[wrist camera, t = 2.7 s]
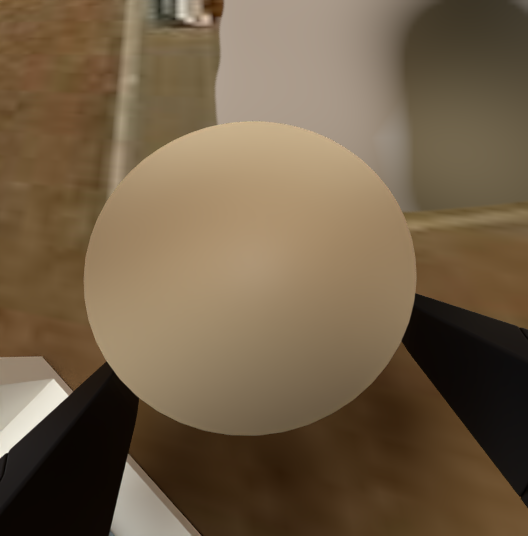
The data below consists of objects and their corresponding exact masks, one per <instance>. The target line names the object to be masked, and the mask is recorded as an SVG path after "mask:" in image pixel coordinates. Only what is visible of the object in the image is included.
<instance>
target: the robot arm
mask: <svg viewBox="0 0 528 536" xmlns="http://www.w3.org/2000/svg"><path fill="white" fill-rule="evenodd" d="M401 341H402V343H403V344H404V346H405V347H406V349H407V350H408V352H409V353H410V354H411V356H412V357H413V358H414V360H415V361H416V362H417V364H418V365H419V366H420V368H421V369H422V370H423V371H424V373H425V374H426V375H427V377H428V378H429V379H430V381H431V382H432V383H433V385H434V386H435V387H436V388H437V390H438V391H439V392H440V394H441V395H442V396H443V398H444V399H445V400H446V401H447V403H448V404H449V405H450V407H451V408H452V409H453V411H454V412H455V413H456V415H457V416H458V417H459V418H460V420H461V421H462V422H463V424H464V425H465V426H466V428H467V429H468V430H469V431H470V433H471V434H472V435H473V437H474V438H475V439H476V441H477V442H478V443H479V445H480V446H481V447H482V448H483V450H484V451H485V452H486V454H487V455H488V456H489V458H490V459H491V460H492V461H493V463H494V464H495V465H496V467H497V468H498V469H499V471H500V472H501V473H502V475H503V476H504V477H505V478H506V480H507V481H508V482H509V484H510V485H511V486H512V488H513V489H514V490H515V492H516V493H517V494H518V495H519V496H520V497H521V500H522V501H523V502H524V504H525V505H526V506H527V508H528V329H524V328H519V327H518V326H515V325H512V324H509V323H506V322H503V321H500V320H496V319H493V318H490V317H487V316H484V315H481V314H478V313H475V312H472V311H469V310H466V309H462V308H459V307H456V306H453V305H450V304H447V303H444V302H441V301H438V300H435V299H432V298H428V297H425V296H422V295H419V294H416V293H415V299H414V304H413V308H412V312H411V316H410V320H409V324H408V326H407V328H406V331H405V333H404V336H403V338H402V340H401ZM138 403H139V397H137V396H136V395H135V394H134V393H133V392H132V391H131V390H130V389H129V388H128V387H127V386H126V385H125V384H124V383H123V382H122V381H121V380H120V379H119V377H118V376H117V375H116V373H115V372H114V370H113V369H112V368H111V366H110V365H109V364H108V362H105V363H104V364H103V365H102V366H101V367H100V368H99V369H98V370H97V371H96V372H94V373H93V374H92V375H91V376H90V377H89V378H88V379H87V380H86V381H85V382H83V383H82V384H81V385H80V386H79V387H78V388H77V389H76V390H75V391H74V392H72V393H71V394H70V395H69V396H68V397H67V398H66V399H65V400H64V401H63V402H61V403H60V404H59V405H58V406H57V407H56V408H55V409H54V410H53V411H52V412H51V413H49V414H48V415H47V416H46V417H45V418H44V419H43V420H42V421H41V422H40V423H38V424H37V425H36V426H35V427H34V428H33V429H32V430H31V431H30V432H29V433H27V434H26V435H25V436H24V437H23V438H22V439H21V440H20V441H19V442H18V443H16V444H15V445H14V446H13V447H12V448H11V449H10V450H9V452H8V453H6V454H4V455H3V456H2V457H1V458H0V536H109V533H110V529H111V524H112V520H113V516H114V512H115V507H116V503H117V499H118V495H119V490H120V486H121V482H122V477H123V473H124V469H125V465H126V460H127V456H128V452H129V448H130V443H131V439H132V435H133V431H134V426H135V422H136V417H137V411H138Z"/></svg>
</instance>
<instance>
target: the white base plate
mask: <svg viewBox="0 0 528 536" xmlns="http://www.w3.org/2000/svg"><path fill="white" fill-rule="evenodd" d="M72 392H73V391H72V390H71V389H70V387H69V386H68V385H67V384H66V383H65V382H64V381H63V380H62V379H61V377H60V376H59V375H58V374H57V373H56V372H55V371H54V370H53V368H52V367H51V366H50V365H49V364H48V363H47V362H46V361H45V359H44V358H43V357H0V458H1V457H2V456H3V455H4V454H6V453H8V452H9V450H10V449H11V448H12V447H13V446H14V445H15V444H16V443H18V442H19V441H20V440H21V439H22V438H23V437H24V436H25V435H26V434H27V433H29V432H30V431H31V430H32V429H33V428H34V427H35V426H36V425H37V424H38V423H40V422H41V421H42V420H43V419H44V418H45V417H46V416H47V415H48V414H49V413H51V412H52V411H53V410H54V409H55V408H56V407H57V406H58V405H59V404H60V403H61V402H63V401H64V400H65V399H66V398H67V397H68V396H69V395H70V394H71V393H72ZM110 530H111V532H112V533H113V534H114V535H115V536H201V535H200V534H199V532H198V531H197V530H196V529H195V528H194V527H193V526H192V525H191V523H190V522H189V521H188V520H187V519H186V518H185V517H184V516H183V514H182V513H181V512H180V511H179V510H178V509H177V508H176V507H175V505H174V504H173V503H172V502H171V501H170V500H169V499H168V498H167V496H166V495H165V494H164V493H163V492H162V491H161V490H160V489H159V487H158V486H157V485H156V484H155V483H154V482H153V481H152V480H151V478H150V477H149V476H148V475H147V474H146V473H145V472H144V471H143V469H142V468H141V467H140V466H139V465H138V464H137V463H136V462H135V461H134V459H133V458H132V457H131V456H130V455H129V454H128V456H127V460H126V465H125V469H124V473H123V477H122V482H121V486H120V490H119V495H118V499H117V503H116V507H115V512H114V516H113V520H112V524H111V529H110Z"/></svg>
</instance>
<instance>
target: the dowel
mask: <svg viewBox="0 0 528 536" xmlns="http://www.w3.org/2000/svg"><path fill="white" fill-rule="evenodd" d="M415 289H416V258H415V253H414V247H413V242H412V237H411V234H410V231H409V228H408V225H407V222H406V219H405V217H404V215H403V213H402V211H401V209H400V207H399V205H398V203H397V201H396V200H395V198H394V197H393V195H392V193H391V192H390V190H389V189H388V187H387V186H386V185H385V184H384V182H383V181H382V180H381V179H380V178H379V176H378V175H377V174H376V173H375V172H374V171H373V170H372V169H371V168H370V167H369V166H368V165H367V164H366V163H365V162H364V161H362V160H361V159H360V158H359V157H357V156H356V155H355V154H353V153H352V152H351V151H349V150H348V149H346V148H344V147H343V146H341V145H340V144H338V143H336V142H334V141H333V140H331V139H329V138H326V137H324V136H321V135H319V134H317V133H315V132H312V131H309V130H305V129H302V128H299V127H295V126H290V125H285V124H281V123H271V122H235V123H226V124H221V125H216V126H211V127H207V128H204V129H201V130H198V131H195V132H192V133H189V134H187V135H185V136H182V137H180V138H178V139H175V140H174V141H172V142H170V143H168V144H167V145H165V146H163V147H161V148H159V149H158V150H157V151H155V152H154V153H152V154H151V155H150V156H148V157H147V158H145V159H144V160H143V161H142V162H141V163H140V164H138V165H137V166H136V167H135V168H134V169H133V170H132V171H131V172H130V173H129V174H128V175H127V176H126V177H125V178H124V179H123V180H122V182H121V183H120V184H119V185H118V186H117V188H116V189H115V190H114V192H113V193H112V195H111V196H110V198H109V199H108V200H107V202H106V204H105V206H104V208H103V209H102V211H101V213H100V215H99V217H98V219H97V221H96V224H95V227H94V229H93V232H92V234H91V237H90V241H89V245H88V250H87V254H86V260H85V269H84V297H85V303H86V309H87V314H88V319H89V322H90V325H91V328H92V331H93V334H94V337H95V340H96V342H97V344H98V346H99V348H100V350H101V352H102V353H103V355H104V357H105V359H106V361H107V362H108V364H109V365H110V366H111V368H112V369H113V370H114V372H115V373H116V375H117V376H118V377H119V379H120V380H121V381H122V382H123V383H124V384H125V385H126V386H127V387H128V388H129V389H130V390H131V391H132V392H133V393H134V394H135V395H136V396H137V397H139V398H140V399H141V400H143V401H144V402H146V403H147V404H148V405H150V406H151V407H152V408H154V409H155V410H157V411H158V412H160V413H162V414H164V415H166V416H168V417H170V418H172V419H174V420H176V421H178V422H180V423H183V424H186V425H189V426H192V427H195V428H198V429H201V430H204V431H209V432H215V433H221V434H226V435H250V436H258V435H265V434H273V433H280V432H285V431H289V430H292V429H296V428H299V427H302V426H306V425H309V424H311V423H313V422H316V421H318V420H320V419H322V418H324V417H326V416H328V415H331V414H333V413H334V412H336V411H337V410H339V409H340V408H342V407H343V406H345V405H346V404H348V403H349V402H351V401H352V400H354V399H355V398H356V397H357V396H358V395H359V394H361V393H362V392H363V391H364V390H365V389H366V388H367V387H368V386H369V385H371V384H372V383H373V382H374V380H375V379H376V378H377V377H378V375H379V374H380V373H381V372H382V371H383V369H384V368H385V367H386V366H387V365H388V363H389V361H390V360H391V358H392V356H393V355H394V353H395V351H396V350H397V348H398V346H399V345H400V343H401V340H402V338H403V336H404V333H405V331H406V328H407V326H408V324H409V320H410V316H411V312H412V308H413V304H414V299H415Z"/></svg>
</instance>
